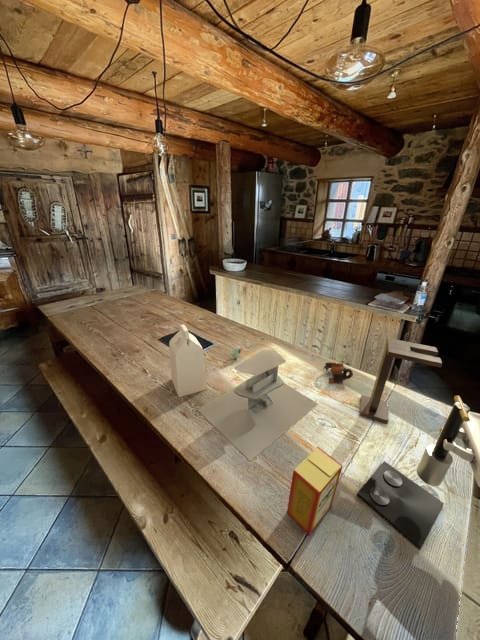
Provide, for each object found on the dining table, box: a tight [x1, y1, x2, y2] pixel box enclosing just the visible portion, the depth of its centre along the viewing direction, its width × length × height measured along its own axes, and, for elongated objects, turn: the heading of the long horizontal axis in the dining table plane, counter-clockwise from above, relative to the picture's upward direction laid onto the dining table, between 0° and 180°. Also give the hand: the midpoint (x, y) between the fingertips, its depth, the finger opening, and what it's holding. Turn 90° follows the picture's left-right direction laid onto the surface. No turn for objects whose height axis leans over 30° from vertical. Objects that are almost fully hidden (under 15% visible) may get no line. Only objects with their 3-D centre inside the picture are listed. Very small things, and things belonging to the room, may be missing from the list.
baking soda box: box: [286, 446, 343, 536], centre depth 63 cm, size 10×6×16 cm
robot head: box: [229, 345, 242, 360], centre depth 125 cm, size 8×4×7 cm, turn 154°
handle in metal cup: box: [416, 395, 471, 487], centre depth 61 cm, size 5×7×23 cm
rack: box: [359, 337, 443, 425], centre depth 90 cm, size 17×10×28 cm, turn 65°
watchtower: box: [196, 349, 319, 462], centre depth 94 cm, size 36×28×20 cm
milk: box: [168, 323, 208, 398], centre depth 103 cm, size 12×12×26 cm
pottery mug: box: [322, 362, 354, 385], centre depth 113 cm, size 12×10×8 cm
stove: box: [356, 460, 444, 550], centre depth 68 cm, size 15×15×1 cm
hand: (442, 436), depth 61 cm, fingers closed on handle in metal cup, 2 cm apart
